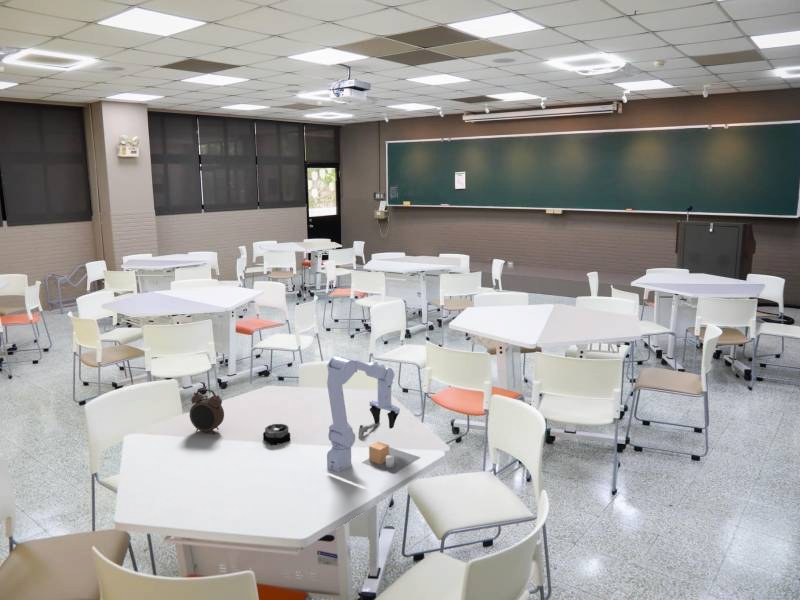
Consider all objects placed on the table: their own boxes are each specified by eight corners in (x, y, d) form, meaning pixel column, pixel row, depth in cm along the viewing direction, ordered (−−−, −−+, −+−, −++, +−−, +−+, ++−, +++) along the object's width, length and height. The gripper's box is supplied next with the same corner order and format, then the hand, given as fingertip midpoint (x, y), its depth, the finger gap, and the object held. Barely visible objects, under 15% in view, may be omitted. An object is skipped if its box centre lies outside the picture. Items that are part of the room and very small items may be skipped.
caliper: (360, 440, 266) (360, 426, 265) (358, 440, 267) (358, 426, 265) (380, 423, 285) (380, 410, 284) (378, 423, 285) (378, 410, 284)
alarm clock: (188, 433, 272) (185, 390, 268) (197, 427, 279) (195, 385, 275) (218, 436, 269) (215, 393, 265) (226, 430, 276) (224, 388, 272)
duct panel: (393, 476, 233) (393, 464, 232) (361, 464, 243) (361, 453, 242) (420, 459, 247) (420, 448, 246) (389, 449, 257) (389, 438, 256)
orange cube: (380, 464, 241) (380, 450, 240) (369, 460, 244) (369, 446, 243) (388, 459, 245) (388, 445, 244) (378, 455, 249) (378, 441, 247)
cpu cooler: (281, 421, 272) (292, 428, 264) (281, 433, 273) (293, 440, 265) (260, 427, 266) (271, 434, 258) (260, 439, 267) (271, 447, 259)
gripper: (404, 395, 253) (403, 426, 256) (376, 388, 262) (376, 418, 264) (393, 400, 248) (393, 432, 250) (366, 393, 256) (366, 423, 259)
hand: (384, 425), depth 257 cm, fingers open, 7 cm apart
